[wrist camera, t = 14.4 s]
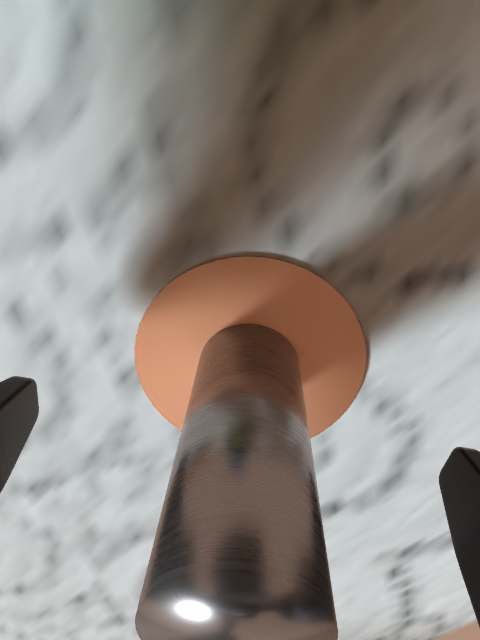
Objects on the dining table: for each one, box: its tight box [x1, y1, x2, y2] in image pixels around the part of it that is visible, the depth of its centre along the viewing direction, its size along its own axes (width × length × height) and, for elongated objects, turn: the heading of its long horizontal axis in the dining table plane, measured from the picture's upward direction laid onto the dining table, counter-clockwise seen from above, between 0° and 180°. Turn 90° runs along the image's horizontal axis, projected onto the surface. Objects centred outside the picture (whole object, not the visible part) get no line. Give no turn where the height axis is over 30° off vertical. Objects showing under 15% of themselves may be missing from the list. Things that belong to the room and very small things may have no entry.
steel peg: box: [135, 323, 338, 640], centre depth 8 cm, size 3×3×6 cm
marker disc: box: [135, 257, 367, 438], centre depth 11 cm, size 6×6×1 cm
